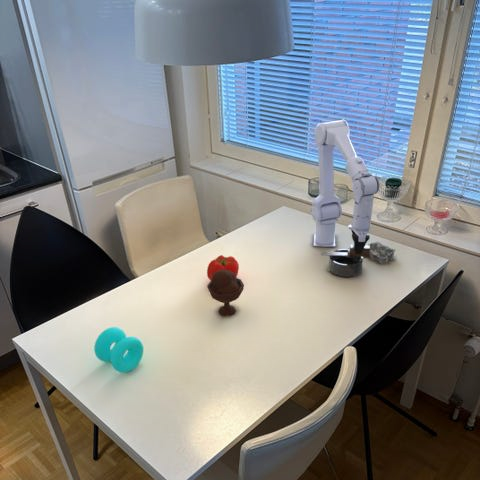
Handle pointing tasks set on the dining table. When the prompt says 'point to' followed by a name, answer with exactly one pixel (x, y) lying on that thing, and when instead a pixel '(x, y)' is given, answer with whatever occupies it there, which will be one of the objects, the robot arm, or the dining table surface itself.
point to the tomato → (222, 265)
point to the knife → (350, 252)
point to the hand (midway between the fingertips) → (358, 251)
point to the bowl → (345, 264)
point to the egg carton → (381, 252)
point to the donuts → (118, 349)
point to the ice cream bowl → (225, 290)
